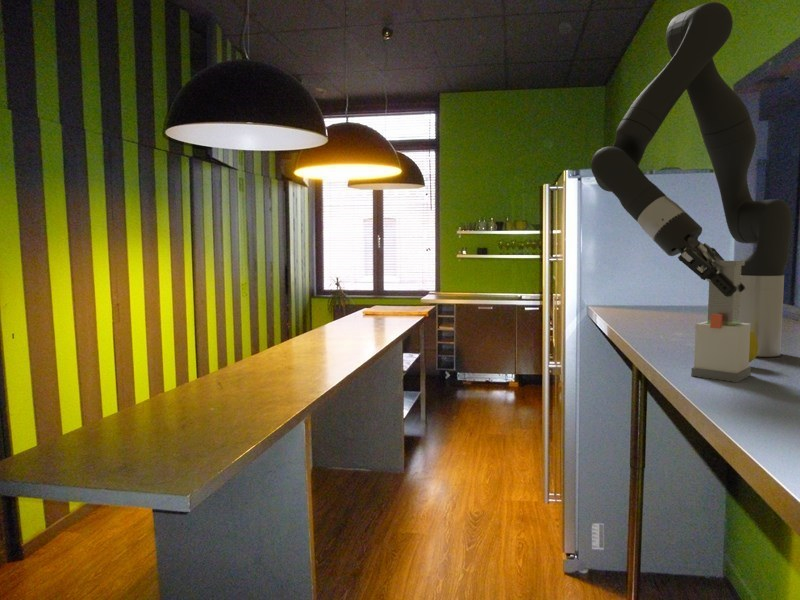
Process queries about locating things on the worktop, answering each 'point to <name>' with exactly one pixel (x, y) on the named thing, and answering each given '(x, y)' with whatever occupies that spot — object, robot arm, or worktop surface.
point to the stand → (722, 350)
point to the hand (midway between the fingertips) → (736, 292)
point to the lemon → (753, 346)
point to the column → (718, 300)
